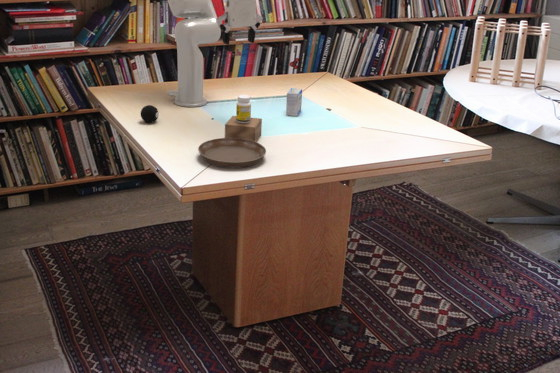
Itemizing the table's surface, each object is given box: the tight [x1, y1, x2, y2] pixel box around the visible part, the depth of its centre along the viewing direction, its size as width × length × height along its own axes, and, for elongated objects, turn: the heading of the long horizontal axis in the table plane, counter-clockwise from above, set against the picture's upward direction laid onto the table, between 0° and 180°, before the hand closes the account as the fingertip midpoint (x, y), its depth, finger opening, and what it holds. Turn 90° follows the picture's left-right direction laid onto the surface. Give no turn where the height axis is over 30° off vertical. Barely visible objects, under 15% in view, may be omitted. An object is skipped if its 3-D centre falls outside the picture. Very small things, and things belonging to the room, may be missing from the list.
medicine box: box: [285, 87, 303, 117], centre depth 264 cm, size 8×4×9 cm, turn 168°
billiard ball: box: [140, 104, 159, 124], centre depth 246 cm, size 6×6×6 cm
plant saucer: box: [197, 137, 267, 169], centre depth 217 cm, size 21×21×3 cm
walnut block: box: [224, 115, 263, 143], centre depth 234 cm, size 10×10×6 cm
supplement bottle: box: [235, 94, 252, 123], centre depth 232 cm, size 5×5×8 cm
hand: (238, 42), depth 240 cm, fingers open, 9 cm apart
